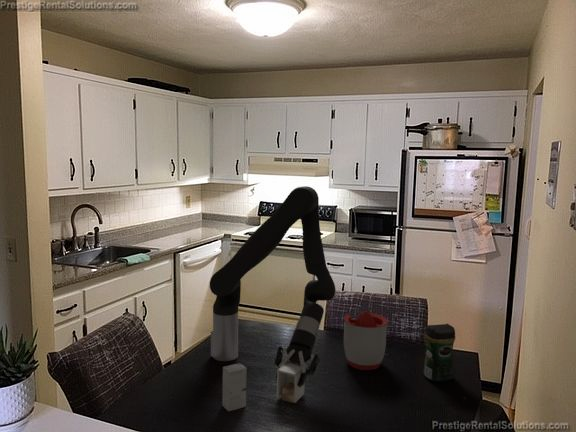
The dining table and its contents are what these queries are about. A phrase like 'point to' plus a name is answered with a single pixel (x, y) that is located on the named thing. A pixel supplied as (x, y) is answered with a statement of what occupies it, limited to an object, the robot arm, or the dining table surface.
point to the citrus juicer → (365, 340)
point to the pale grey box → (289, 379)
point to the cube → (288, 392)
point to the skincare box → (234, 387)
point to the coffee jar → (439, 352)
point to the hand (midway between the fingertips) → (288, 383)
